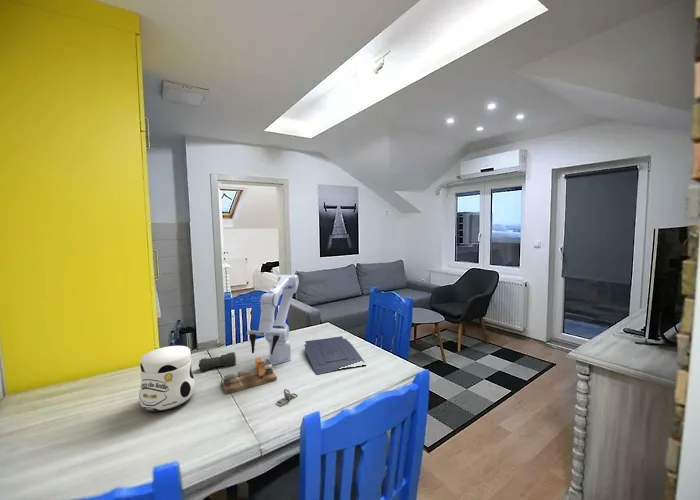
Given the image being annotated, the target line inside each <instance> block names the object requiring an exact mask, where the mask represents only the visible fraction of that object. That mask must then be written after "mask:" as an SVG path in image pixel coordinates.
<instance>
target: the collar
mask: <svg viewBox="0 0 700 500" xmlns="http://www.w3.org/2000/svg"><path fill="white" fill-rule="evenodd" d="M264 366H265V361H264V360H262V358H261V357H258V358H255V368H258V372H257V374H258V375H259V377H261V376H264Z"/></svg>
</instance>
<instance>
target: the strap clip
mask: <svg viewBox="0 0 700 500" xmlns="http://www.w3.org/2000/svg"><path fill="white" fill-rule="evenodd" d="M283 395H284V397H281V398H280V399H278V400H277V401H276V403H275V405H277V406H278V407H283V406H285V405H286V404H287V403H289V401H293V400H294V399H296V398H298V394H296V393H294V392H293V393H291V391H290V390H289V389H288V388H284V390H283ZM292 399H293V400H292Z"/></svg>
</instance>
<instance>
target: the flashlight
mask: <svg viewBox="0 0 700 500" xmlns="http://www.w3.org/2000/svg"><path fill="white" fill-rule="evenodd" d="M235 364H237V355H236V352H235V351H231V352H228V353H226V354H221V355H220V356H216V357H210V358H209V357H205V358H201V359H199V362H198V368H199V371H202V372H204V371H207V370H210V369H213V368H218V367H220V366H221V367H225V366H231V365H233V366H234V365H235Z"/></svg>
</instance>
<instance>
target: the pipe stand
mask: <svg viewBox="0 0 700 500" xmlns="http://www.w3.org/2000/svg"><path fill="white" fill-rule="evenodd" d="M257 372H258V368H256V367H254V368H250V369H245V370H242V371H237V372H235V373H230V374H226V375H223V378H221V379H220V384H221V386H222V389H223V391H224V393H225V395H228V394H232V393H235V392H238V391H242V390H246V389H249V388H253V387H256V386H260V385H263V384H267V383H270V382H274V381H277V379H278V378H277V377H278V376H277V375H276V374H275V372H274V370H273V365H272V364H271V363H270V364H266V365H264V376H261V377H259V375H258V374H257Z"/></svg>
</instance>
